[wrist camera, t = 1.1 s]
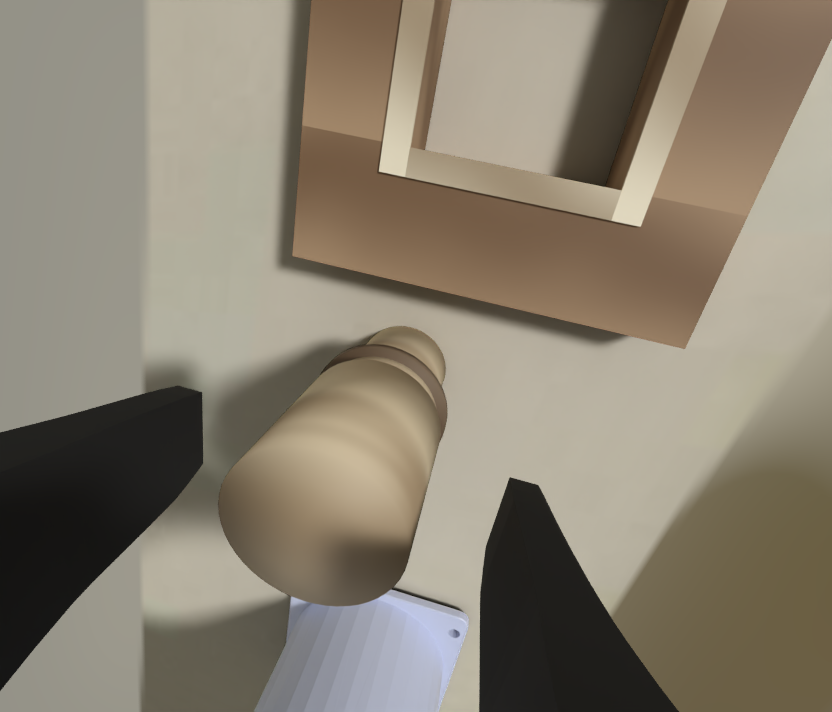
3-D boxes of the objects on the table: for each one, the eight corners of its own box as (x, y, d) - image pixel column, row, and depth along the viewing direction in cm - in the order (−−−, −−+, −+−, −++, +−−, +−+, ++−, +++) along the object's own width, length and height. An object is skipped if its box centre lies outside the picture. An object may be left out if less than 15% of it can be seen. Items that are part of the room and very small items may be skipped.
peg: (445, 427, 16) (393, 631, 9) (344, 400, 17) (215, 573, 9) (470, 329, 15) (431, 479, 7) (357, 301, 15) (216, 418, 8)
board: (660, 325, 13) (686, 350, 12) (319, 246, 15) (290, 256, 13) (911, -245, 9) (1024, -363, 7) (372, -297, 10) (339, -413, 8)
